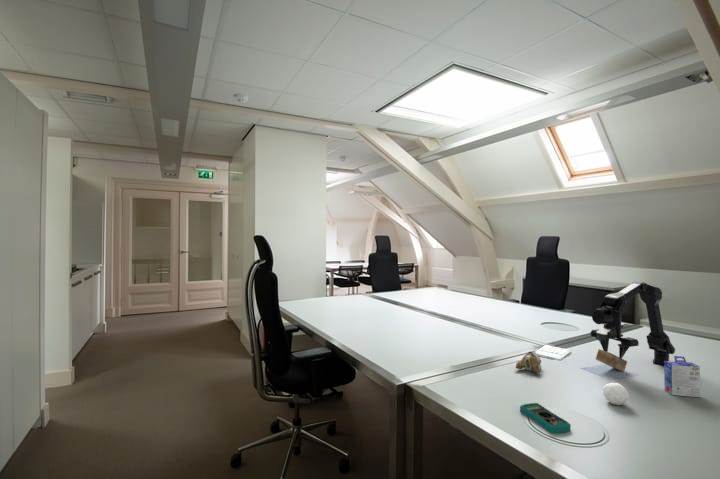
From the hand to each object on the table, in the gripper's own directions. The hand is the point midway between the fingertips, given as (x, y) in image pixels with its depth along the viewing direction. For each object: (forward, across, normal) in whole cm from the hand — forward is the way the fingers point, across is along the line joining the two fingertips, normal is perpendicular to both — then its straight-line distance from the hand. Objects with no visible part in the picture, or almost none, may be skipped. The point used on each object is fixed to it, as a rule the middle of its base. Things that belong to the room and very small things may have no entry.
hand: (613, 355), depth 163 cm
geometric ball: (+7, +23, -32) cm, 40 cm away
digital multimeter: (+8, +24, -67) cm, 72 cm away
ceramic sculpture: (+8, -13, -36) cm, 39 cm away
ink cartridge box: (+7, +25, +3) cm, 27 cm away
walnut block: (+5, 0, +5) cm, 7 cm away
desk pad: (+7, 0, -3) cm, 8 cm away
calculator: (+8, -28, -6) cm, 30 cm away
